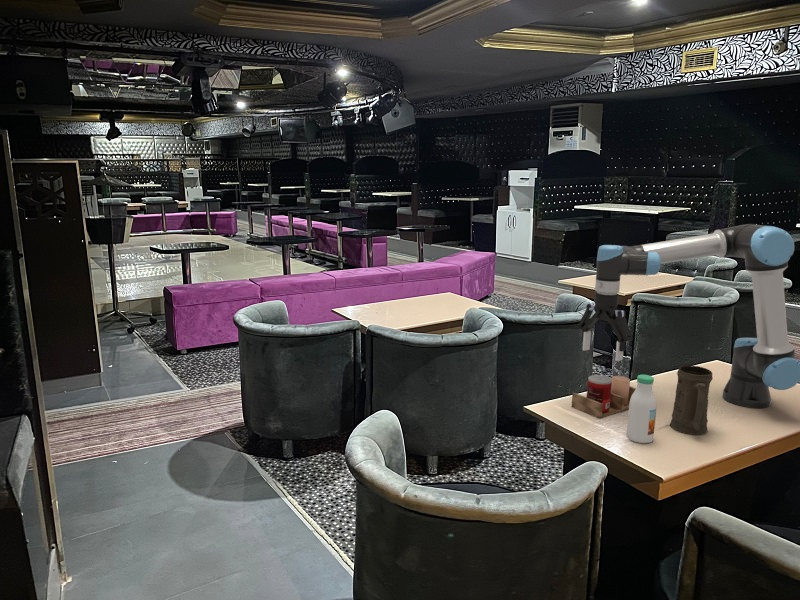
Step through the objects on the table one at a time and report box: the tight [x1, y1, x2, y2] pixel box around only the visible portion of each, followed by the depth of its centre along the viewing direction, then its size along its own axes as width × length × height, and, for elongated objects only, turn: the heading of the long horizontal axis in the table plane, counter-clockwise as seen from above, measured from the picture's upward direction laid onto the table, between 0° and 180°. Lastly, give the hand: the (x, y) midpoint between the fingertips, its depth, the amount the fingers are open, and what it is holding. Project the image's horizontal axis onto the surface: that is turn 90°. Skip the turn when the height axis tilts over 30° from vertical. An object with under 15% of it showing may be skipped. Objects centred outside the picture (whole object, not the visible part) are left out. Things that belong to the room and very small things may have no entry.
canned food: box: [586, 374, 612, 413], centre depth 201 cm, size 8×8×11 cm
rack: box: [571, 386, 637, 420], centre depth 204 cm, size 12×23×6 cm, turn 121°
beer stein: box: [669, 365, 713, 436], centre depth 186 cm, size 15×11×20 cm
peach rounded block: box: [611, 375, 631, 406], centre depth 207 cm, size 6×6×9 cm
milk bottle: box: [626, 374, 657, 444], centre depth 180 cm, size 8×8×20 cm
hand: (602, 355), depth 198 cm, fingers open, 13 cm apart
